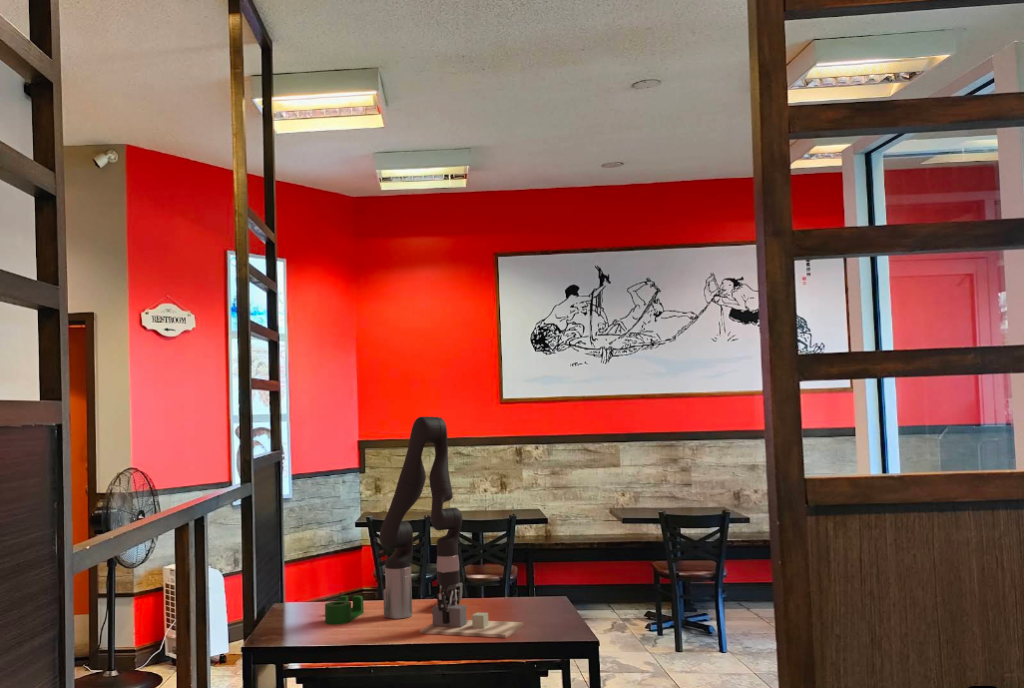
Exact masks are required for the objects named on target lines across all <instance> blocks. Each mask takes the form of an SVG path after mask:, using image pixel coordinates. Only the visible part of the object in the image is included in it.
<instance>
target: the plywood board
mask: <svg viewBox="0 0 1024 688" xmlns="http://www.w3.org/2000/svg"><path fill="white" fill-rule="evenodd" d="M466 620H467V624H466V625H464V626H462V627H461V628H459V627H440V626H433V622H432V623H431V624H428V625H427V626H425V627H423V628H422V629H419V634H427V635H446V636H463V637H464V636H466V637H479V638H480V637H484V638H502V639H503V638H504V639H506V638H508V637H510V636H511V635H512V634H514V633H515V632H517V631H518V630H519V629H521V628H523V627H524V622H523V621H522V622H521V621H520V622H519V621H518V622H517V621H500V620H499V621H495V620H488V626H487V627H485V628H472V619H466Z"/></svg>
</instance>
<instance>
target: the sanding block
mask: <svg viewBox="0 0 1024 688" xmlns="http://www.w3.org/2000/svg"><path fill="white" fill-rule="evenodd" d="M441 606H442V605H441ZM446 606H447V605H446ZM431 609H432V611H431V612H432V613H431V614H432V623H433V626H440V627H459V628H461V627H462V626H464V625H466V624H467V620H468V619H467V604H466V605H465V604H459V605H450V608H449V621H450V622H449V623H448V624H443V617H442V612H441V611H439V609H438V605H437V604H436V605H435V606H432V608H431Z"/></svg>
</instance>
